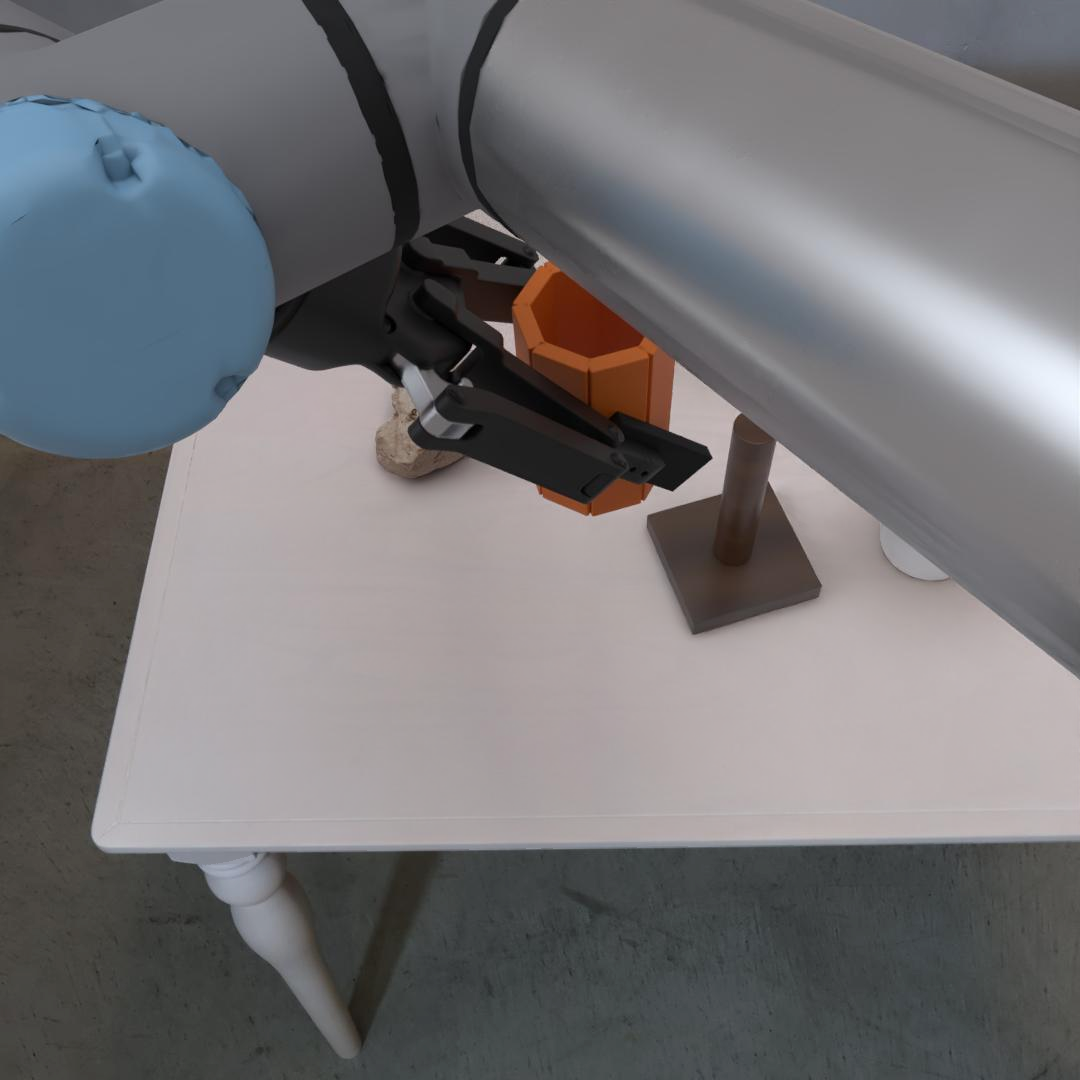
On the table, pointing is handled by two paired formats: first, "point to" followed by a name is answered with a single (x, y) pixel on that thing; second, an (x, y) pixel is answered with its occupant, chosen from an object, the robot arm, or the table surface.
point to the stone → (407, 441)
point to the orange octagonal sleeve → (592, 365)
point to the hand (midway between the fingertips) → (662, 410)
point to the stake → (734, 542)
